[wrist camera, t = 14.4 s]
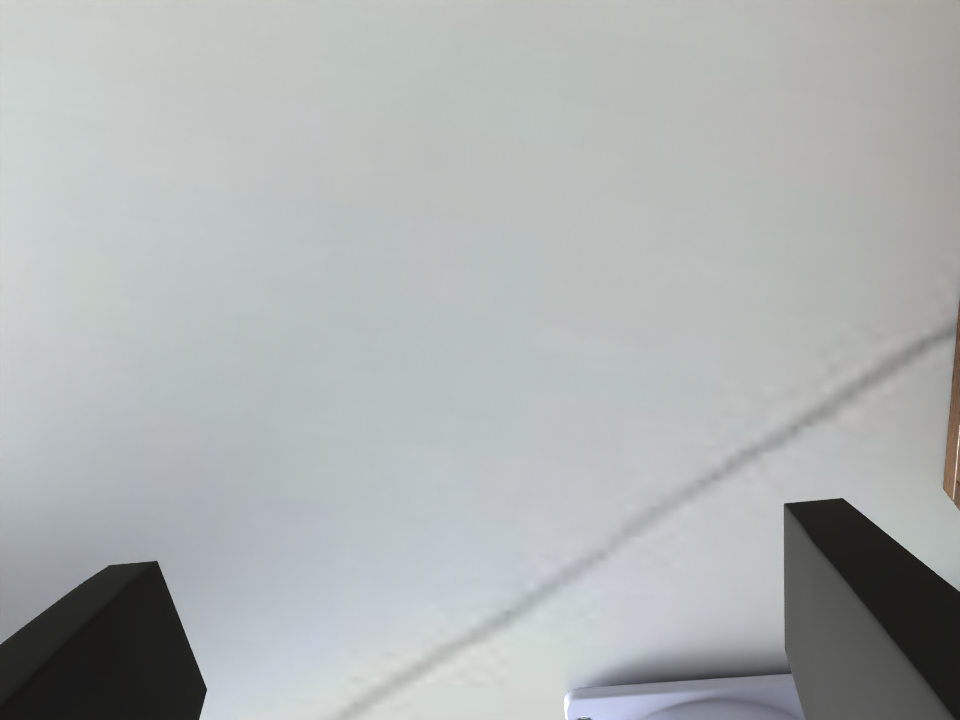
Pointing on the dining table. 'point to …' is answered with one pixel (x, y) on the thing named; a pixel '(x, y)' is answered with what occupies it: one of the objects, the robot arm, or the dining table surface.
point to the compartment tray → (954, 431)
